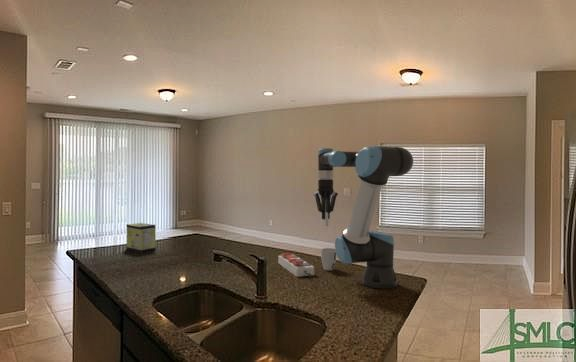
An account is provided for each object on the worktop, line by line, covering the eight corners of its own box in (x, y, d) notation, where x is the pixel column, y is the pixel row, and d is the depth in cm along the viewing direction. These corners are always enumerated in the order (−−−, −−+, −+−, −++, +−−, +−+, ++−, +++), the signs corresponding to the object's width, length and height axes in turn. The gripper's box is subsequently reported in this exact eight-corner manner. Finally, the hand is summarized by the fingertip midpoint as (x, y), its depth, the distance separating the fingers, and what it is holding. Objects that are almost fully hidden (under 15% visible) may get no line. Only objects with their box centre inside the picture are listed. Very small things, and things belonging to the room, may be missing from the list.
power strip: (319, 278, 186) (319, 269, 186) (301, 280, 183) (301, 270, 183) (293, 261, 218) (294, 253, 218) (278, 262, 215) (278, 255, 215)
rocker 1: (290, 255, 209) (290, 253, 209) (284, 256, 208) (284, 253, 208) (287, 255, 214) (287, 253, 214) (281, 256, 213) (280, 253, 213)
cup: (335, 271, 198) (336, 251, 198) (319, 270, 200) (319, 251, 200) (337, 267, 206) (337, 248, 206) (321, 266, 208) (321, 247, 208)
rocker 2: (296, 261, 201) (296, 259, 201) (289, 262, 200) (290, 259, 200) (293, 257, 206) (293, 254, 205) (286, 257, 205) (286, 255, 204)
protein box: (141, 246, 254) (140, 222, 254) (156, 249, 245) (156, 224, 245) (126, 249, 246) (126, 224, 245) (141, 252, 237) (141, 226, 236)
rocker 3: (303, 263, 192) (303, 260, 192) (296, 264, 191) (296, 261, 191) (299, 263, 197) (299, 260, 197) (292, 264, 196) (292, 261, 196)
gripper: (333, 179, 207) (333, 224, 207) (310, 179, 202) (310, 225, 202) (340, 179, 200) (340, 226, 200) (317, 179, 195) (317, 227, 195)
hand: (325, 225), depth 201 cm, fingers closed
